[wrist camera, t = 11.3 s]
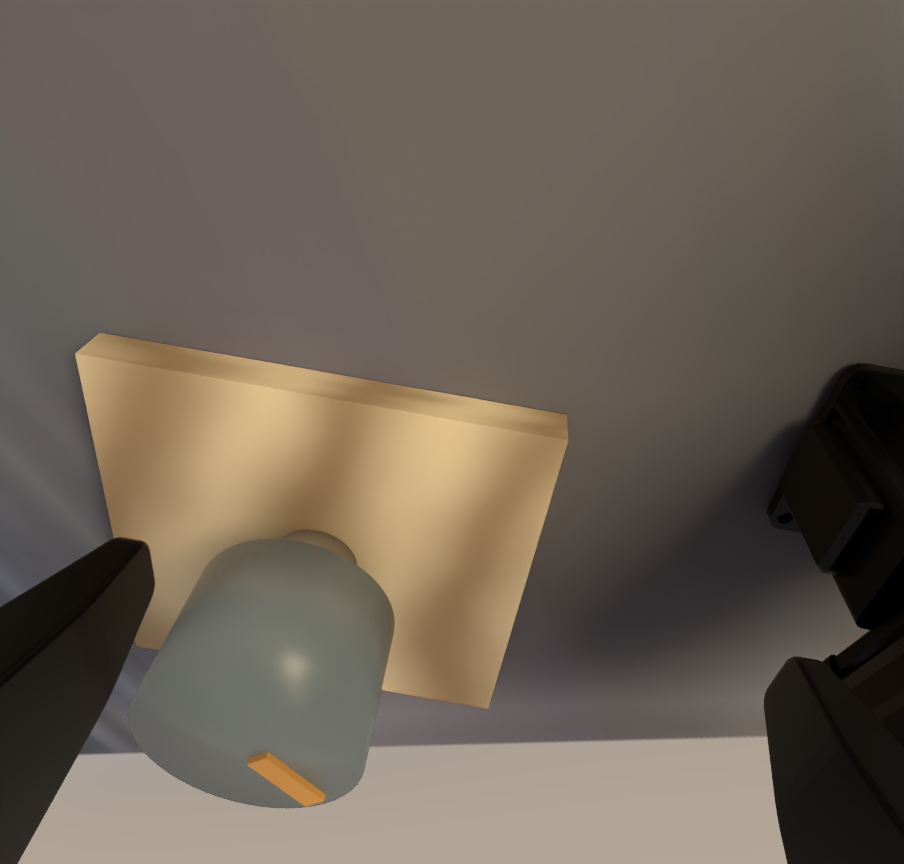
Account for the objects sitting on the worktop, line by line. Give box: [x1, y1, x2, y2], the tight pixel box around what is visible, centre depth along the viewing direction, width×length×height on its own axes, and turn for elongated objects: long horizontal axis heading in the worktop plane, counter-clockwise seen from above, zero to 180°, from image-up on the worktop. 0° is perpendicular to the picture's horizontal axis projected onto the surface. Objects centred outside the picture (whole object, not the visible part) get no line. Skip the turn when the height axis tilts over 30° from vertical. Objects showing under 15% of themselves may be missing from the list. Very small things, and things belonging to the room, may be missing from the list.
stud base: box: [75, 333, 568, 709], centre depth 25 cm, size 16×15×4 cm
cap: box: [127, 539, 395, 808], centre depth 21 cm, size 7×7×5 cm
